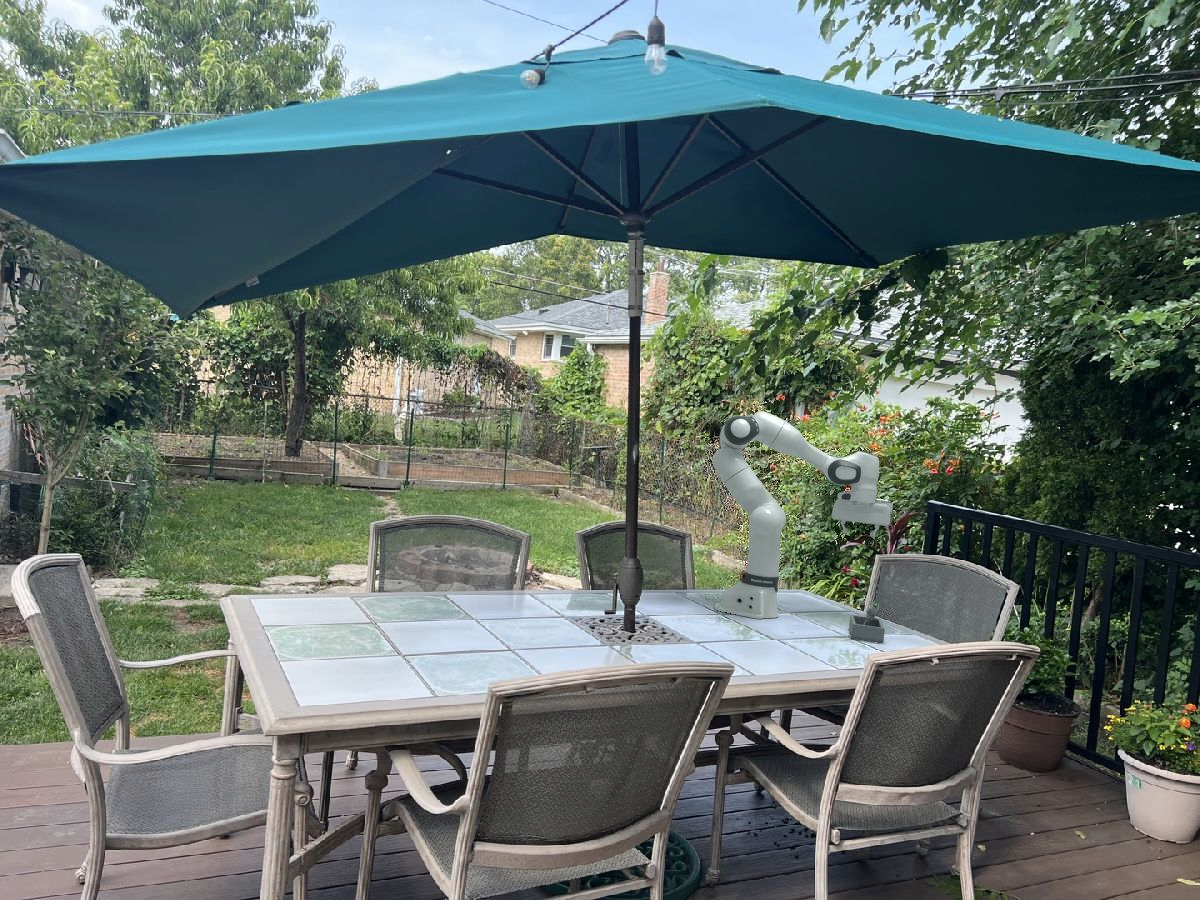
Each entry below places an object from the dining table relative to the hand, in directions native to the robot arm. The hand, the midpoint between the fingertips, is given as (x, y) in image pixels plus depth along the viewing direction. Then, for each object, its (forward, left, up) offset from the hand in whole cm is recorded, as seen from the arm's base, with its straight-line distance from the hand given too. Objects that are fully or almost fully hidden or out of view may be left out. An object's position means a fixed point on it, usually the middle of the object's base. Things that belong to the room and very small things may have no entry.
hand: (858, 535), depth 304 cm
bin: (+4, -22, -31) cm, 38 cm away
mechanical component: (+3, -22, -30) cm, 37 cm away
